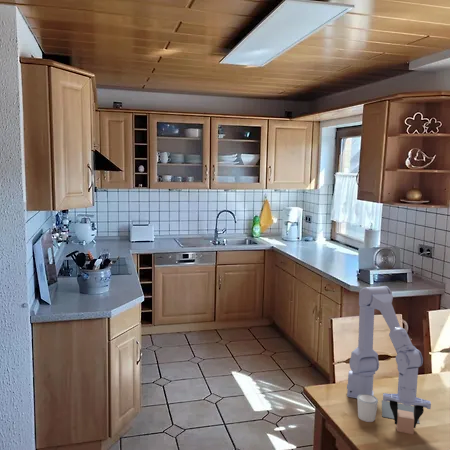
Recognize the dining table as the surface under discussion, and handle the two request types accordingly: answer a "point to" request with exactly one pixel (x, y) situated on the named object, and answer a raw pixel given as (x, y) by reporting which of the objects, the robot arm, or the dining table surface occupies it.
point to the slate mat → (388, 412)
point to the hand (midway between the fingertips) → (404, 424)
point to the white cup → (367, 407)
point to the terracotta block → (405, 421)
